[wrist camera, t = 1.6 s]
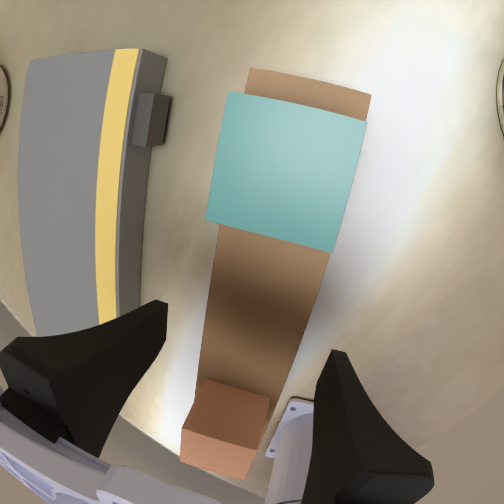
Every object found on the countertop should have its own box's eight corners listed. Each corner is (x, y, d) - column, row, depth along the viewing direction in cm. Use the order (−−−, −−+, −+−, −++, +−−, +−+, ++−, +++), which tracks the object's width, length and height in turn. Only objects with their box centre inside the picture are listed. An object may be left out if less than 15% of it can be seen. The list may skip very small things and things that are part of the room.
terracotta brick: (256, 433, 19) (243, 480, 15) (199, 416, 19) (179, 461, 16) (270, 397, 17) (257, 450, 14) (205, 378, 18) (181, 427, 14)
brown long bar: (270, 397, 24) (259, 445, 19) (211, 381, 25) (191, 425, 20) (356, 105, 15) (371, 94, 11) (268, 85, 16) (250, 67, 11)
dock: (150, 368, 26) (134, 391, 23) (56, 325, 27) (38, 341, 24) (181, 58, 16) (158, 48, 13) (56, 63, 17) (28, 60, 15)
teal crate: (328, 218, 13) (332, 253, 9) (236, 195, 14) (205, 220, 10) (351, 125, 12) (366, 121, 8) (254, 103, 12) (228, 91, 8)
